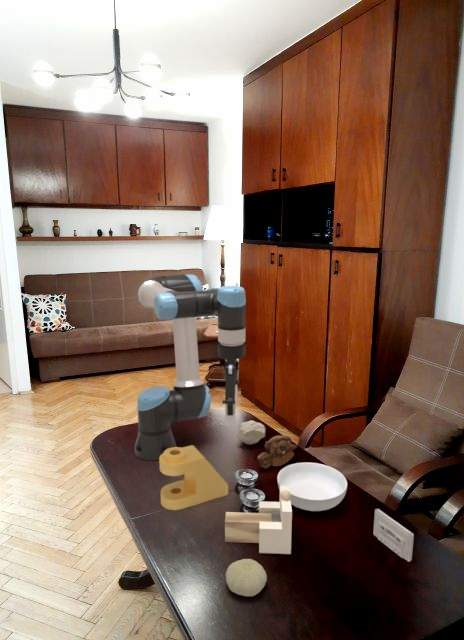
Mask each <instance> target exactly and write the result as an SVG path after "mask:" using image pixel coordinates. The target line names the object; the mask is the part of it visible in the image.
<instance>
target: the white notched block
mask: <svg viewBox="0 0 464 640" xmlns="http://www.w3.org/2000/svg"><path fill="white" fill-rule="evenodd" d="M290 497H291V494H290V492H289V486H280V490H279V501H258V513H270V514H271V512H279V521H280V522H262V521H259V543H258V549H259V550H258V553H259V554H276V555H277V554H278V555H279V554H280V555H281V554H282V555H292V527H293V525H292V521H293V509H292V504H291V500H290Z"/></svg>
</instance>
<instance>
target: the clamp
mask: <svg viewBox="0 0 464 640" xmlns="http://www.w3.org/2000/svg"><path fill="white" fill-rule="evenodd" d="M158 461H159V471H160V473H162V474H163V475H164V476H170V477H179V476H182V475H184V479H181V480H177V481H174V482H171V483H168V484H166V485H164V486H163V487H162V488H161V489H160V504H161V507H163V508H165V509H167V510H170V511H180V510H184V509H186V508H190V507H194V506H197V505H200V504H203V503H205V502H209V501H212V500H216V499H219V498H222V497H225V496H228V495H229V483H227V481H226V480H224V478H223V477H222V476H221V475H220V473H219V472H218V471H217V470H216V469H215V468H214V466H213V465H212V464H211V463H210V462H209V460H208V459H206V457H205V456H204V455H203V454H202V453H201V452H200V451H199V450H198V449H197V448H196V446H195V445H193V444H191V445H187V446H186V445H185V446H183V447H180V446H179V447H178V446H176V447H172V448H168V449H166V450H165V451H164V453H163V454H161V456H160V457H159V460H158Z"/></svg>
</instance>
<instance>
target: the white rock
mask: <svg viewBox="0 0 464 640" xmlns="http://www.w3.org/2000/svg"><path fill="white" fill-rule="evenodd" d="M239 427H240V428H239V429H238V434H237V438H238V440H239V441H240V442H242V443H244V444H246V445H253V444H256V443H258V442H259V441H260V440H261V439H262V438H265V437H266V433H267V432H266V430H267V429H266V427H265V425H264V424H262V423H261V422H257V421H255V420H252V419H251V420H248V421H243V422H241V423H240V426H239Z"/></svg>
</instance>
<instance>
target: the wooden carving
mask: <svg viewBox="0 0 464 640" xmlns="http://www.w3.org/2000/svg"><path fill="white" fill-rule="evenodd" d="M297 448H298V445H295V444H292V438H291V437H290V436H288V435H275V436H272V437H271V438H269V440H268V441H267V440H266V441H265V443H264V449H265V451H264V452H261V453H260V454H258V456H257V457H256V458H257V461H258V462H259V465H260V467H261V468H264V469H268V468H269V467H270V466H273V467H280V466H282V465H285V464H287V463H288V462H289V461H290V460H291V459H293V457H294V456H295V453H294V450H296V449H297Z"/></svg>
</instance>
